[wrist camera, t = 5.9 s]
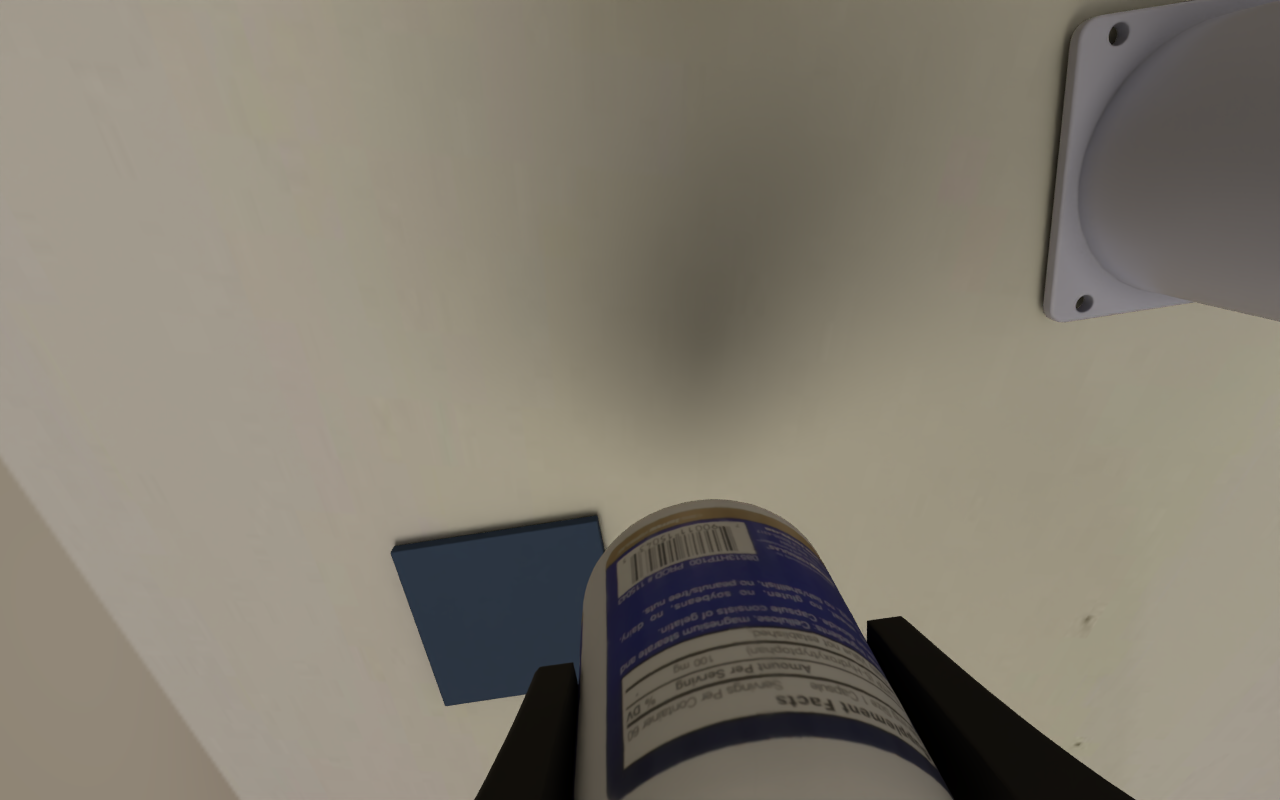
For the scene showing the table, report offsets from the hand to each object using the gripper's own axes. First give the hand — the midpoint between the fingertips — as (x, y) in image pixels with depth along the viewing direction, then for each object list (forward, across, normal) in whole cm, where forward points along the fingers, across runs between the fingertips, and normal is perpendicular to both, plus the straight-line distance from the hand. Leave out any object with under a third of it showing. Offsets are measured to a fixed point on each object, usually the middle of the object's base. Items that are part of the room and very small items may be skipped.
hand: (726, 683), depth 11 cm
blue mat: (+9, +6, +5) cm, 13 cm away
